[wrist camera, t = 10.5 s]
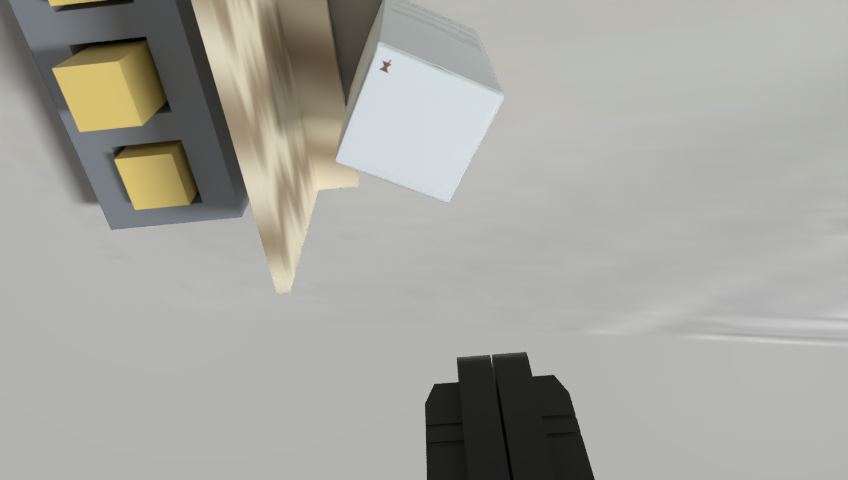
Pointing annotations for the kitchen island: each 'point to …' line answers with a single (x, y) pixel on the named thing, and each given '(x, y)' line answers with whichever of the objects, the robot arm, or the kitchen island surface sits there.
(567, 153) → the kitchen island surface
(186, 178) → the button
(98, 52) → the button mid
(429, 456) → the robot arm
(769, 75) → the kitchen island surface
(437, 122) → the supplement box
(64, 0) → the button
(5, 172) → the kitchen island surface
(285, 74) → the card
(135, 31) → the board
